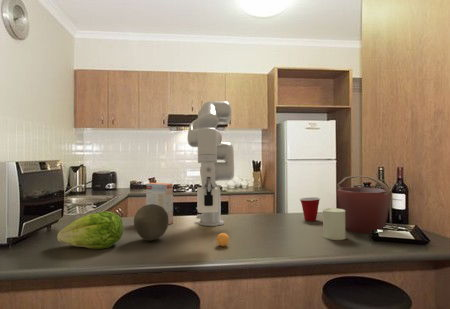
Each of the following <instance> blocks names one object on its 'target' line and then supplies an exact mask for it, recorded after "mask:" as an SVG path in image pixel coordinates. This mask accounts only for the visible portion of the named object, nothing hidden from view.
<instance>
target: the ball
mask: <svg viewBox="0 0 450 309" xmlns="http://www.w3.org/2000/svg"><path fill="white" fill-rule="evenodd" d="M216 243H217V244H218V246H220V247H226V246H228V244H229V243H230V237H229V235H228V234H227V233H225V232H221V233H219V234H218V235H217V236H216Z"/></svg>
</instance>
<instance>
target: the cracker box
mask: <svg viewBox="0 0 450 309" xmlns="http://www.w3.org/2000/svg"><path fill="white" fill-rule="evenodd" d="M145 185H146V187H145V190H146V191H145V192H146V194H145V198H146V200H145V201H146V204H145V206H146V205H150V204H156V205H159V206H161V207H163V208H164V209H165V211H166V212H167V214H168V219H169V223H168V226H169V225H172V224H173V223H174V203H173V202H174V200H173V199H174V198H173V197H174V195H173V194H174V189H173V188H174V187H173V186H174V184H173V183H166V182H165V183H163V182H147V183H145Z"/></svg>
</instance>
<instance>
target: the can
mask: <svg viewBox="0 0 450 309" xmlns="http://www.w3.org/2000/svg"><path fill="white" fill-rule="evenodd" d="M322 218H323V219H322V220H323V224H322V225H323V228H322V230H323V232H322V237H323V238H325V239H327V240H335V241H343V240H345V239H346V238H347V236H346V230H345V210H343V209H340V208H335V207H330V208H329V207H327V208H323V209H322Z"/></svg>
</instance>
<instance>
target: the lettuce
mask: <svg viewBox="0 0 450 309" xmlns="http://www.w3.org/2000/svg"><path fill="white" fill-rule="evenodd" d="M123 234H124V223H123V219H122V217H121V216H120V215H118V214H116V212H115V213H114V212H111V211H107V210H105V211H98V212H94V213H90V214H87V215H84V216H82V217H80V218H78V219H76V220H74V221H72V222H71V223H69V224H68V225H67V226H65V227H63V228H62V229H61V230H59V232H58V233H57V237H56V238H57V240H58V242H60V243H62V244H67V245H71V246H74V247H78V248H87V249H93V250H94V249H99V250H100V249H103V250H104V249H109V248H111V247H112V246H113V245H115V244H117V243H118V242H120V239H121V238H122V237H123Z"/></svg>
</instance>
